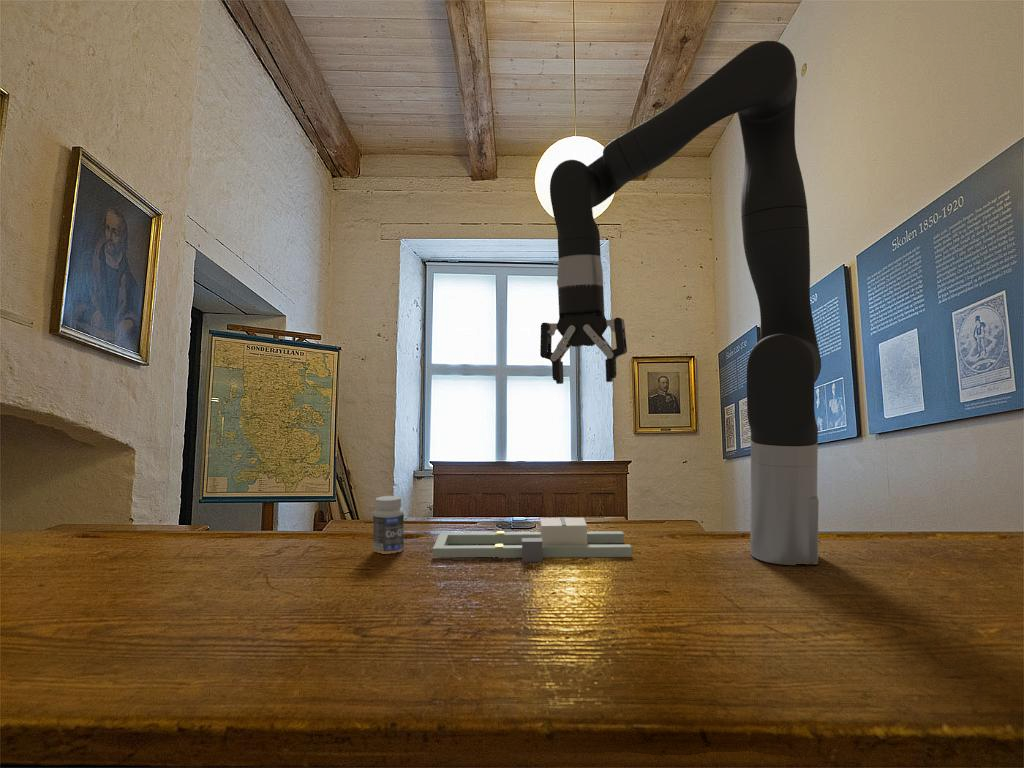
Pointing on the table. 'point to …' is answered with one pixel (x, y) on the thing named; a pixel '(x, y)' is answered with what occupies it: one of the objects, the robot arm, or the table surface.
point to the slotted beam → (528, 546)
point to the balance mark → (499, 544)
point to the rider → (563, 531)
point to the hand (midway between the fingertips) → (584, 382)
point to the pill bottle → (388, 524)
